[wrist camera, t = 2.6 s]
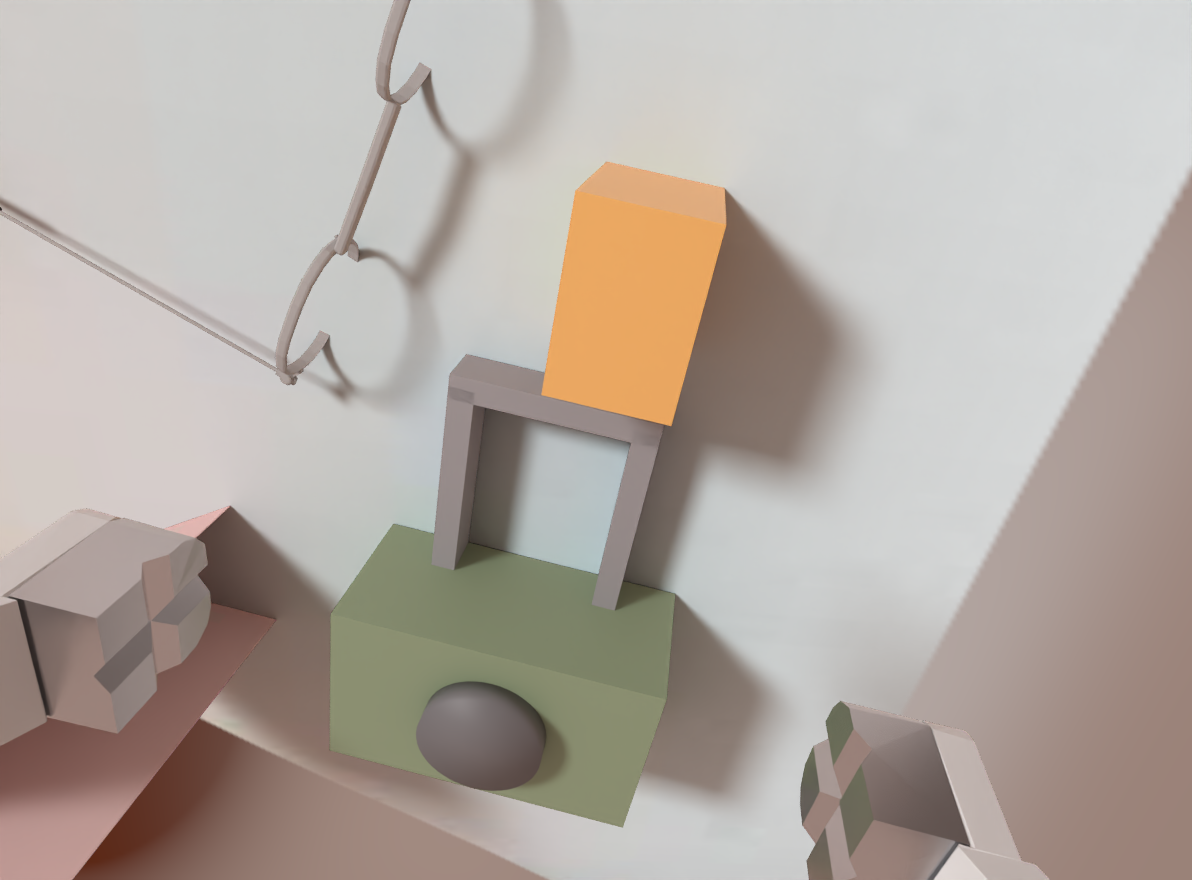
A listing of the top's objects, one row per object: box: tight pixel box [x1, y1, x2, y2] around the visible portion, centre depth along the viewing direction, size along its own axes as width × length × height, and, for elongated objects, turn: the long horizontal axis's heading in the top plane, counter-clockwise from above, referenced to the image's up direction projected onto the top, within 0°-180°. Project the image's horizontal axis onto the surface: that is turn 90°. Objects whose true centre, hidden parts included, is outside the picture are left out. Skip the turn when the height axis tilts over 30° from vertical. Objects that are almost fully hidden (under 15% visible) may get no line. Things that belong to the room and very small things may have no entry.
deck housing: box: [330, 354, 675, 828], centre depth 29 cm, size 17×13×7 cm
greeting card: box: [0, 506, 276, 880], centre depth 29 cm, size 11×7×15 cm, turn 79°
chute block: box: [541, 162, 726, 426], centre depth 23 cm, size 6×4×6 cm, turn 169°
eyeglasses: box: [0, 0, 431, 385], centre depth 23 cm, size 18×19×4 cm
